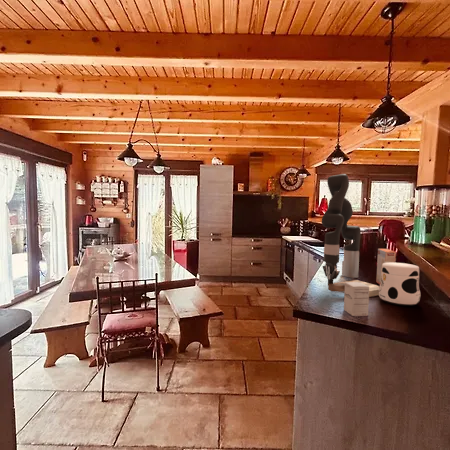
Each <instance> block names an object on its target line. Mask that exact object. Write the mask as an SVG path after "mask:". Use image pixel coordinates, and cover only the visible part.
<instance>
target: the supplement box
mask: <svg viewBox="0 0 450 450" xmlns="http://www.w3.org/2000/svg"><path fill="white" fill-rule="evenodd" d="M344 282H345V292H344V298H343V300H344V301H343V311H345V312H347V313H348V314H349V315H350V316H352V317H361V316H362V317H364V316H365V317H366V316H369V304H370V303H369V300H370V297H369V286H367V285H365V284H363V283H361V282H346V281H344Z"/></svg>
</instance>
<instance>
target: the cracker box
mask: <svg viewBox="0 0 450 450" xmlns="http://www.w3.org/2000/svg"><path fill="white" fill-rule="evenodd" d="M396 261H397V252H396V251H394V250H391V249H389V248H377V262H376V263H377V264H376V278H375V279H376V283H377V284H378V286H380V283H381V272H382V264H383V263H397V262H396Z"/></svg>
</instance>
